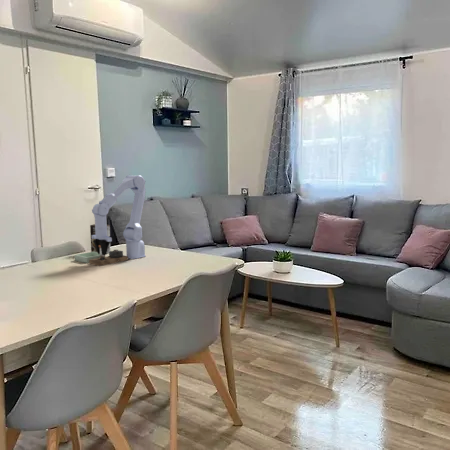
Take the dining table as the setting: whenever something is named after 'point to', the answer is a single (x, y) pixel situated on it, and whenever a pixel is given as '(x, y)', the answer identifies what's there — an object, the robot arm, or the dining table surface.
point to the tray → (86, 257)
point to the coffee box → (93, 247)
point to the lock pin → (102, 257)
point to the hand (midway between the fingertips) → (102, 254)
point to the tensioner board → (110, 258)
